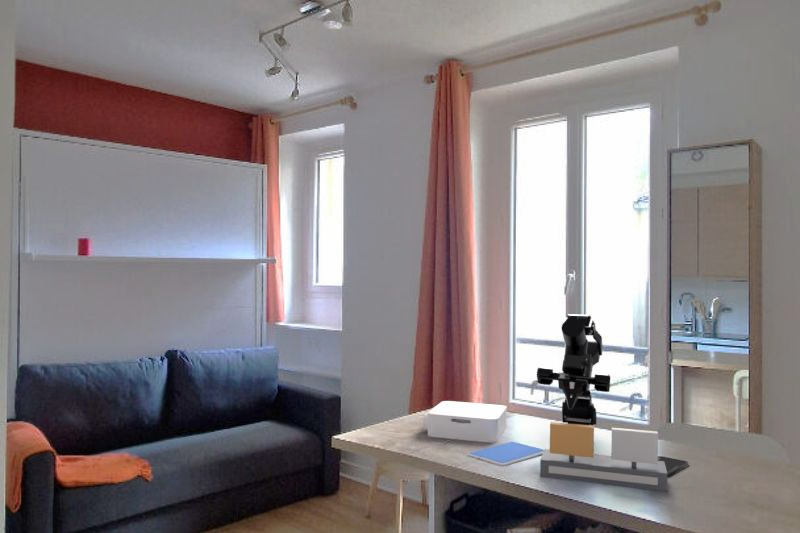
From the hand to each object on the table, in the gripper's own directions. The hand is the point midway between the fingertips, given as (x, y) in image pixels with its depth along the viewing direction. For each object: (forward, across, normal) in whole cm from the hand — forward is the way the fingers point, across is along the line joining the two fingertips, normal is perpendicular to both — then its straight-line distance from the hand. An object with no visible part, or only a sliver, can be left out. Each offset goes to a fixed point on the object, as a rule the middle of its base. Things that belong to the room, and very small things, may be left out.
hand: (570, 408), depth 167 cm
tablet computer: (+12, -15, +8) cm, 21 cm away
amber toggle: (+15, +2, -6) cm, 17 cm away
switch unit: (+17, +9, -2) cm, 19 cm away
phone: (+9, +24, +10) cm, 27 cm away
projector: (+2, -31, +25) cm, 40 cm away
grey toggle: (+15, +16, -7) cm, 23 cm away
